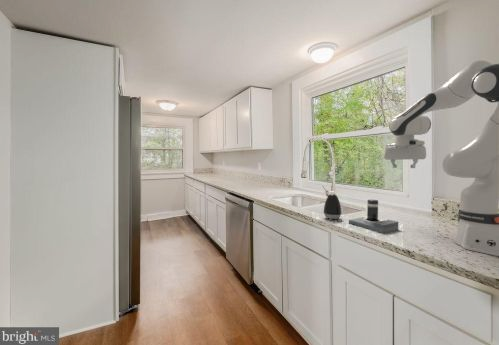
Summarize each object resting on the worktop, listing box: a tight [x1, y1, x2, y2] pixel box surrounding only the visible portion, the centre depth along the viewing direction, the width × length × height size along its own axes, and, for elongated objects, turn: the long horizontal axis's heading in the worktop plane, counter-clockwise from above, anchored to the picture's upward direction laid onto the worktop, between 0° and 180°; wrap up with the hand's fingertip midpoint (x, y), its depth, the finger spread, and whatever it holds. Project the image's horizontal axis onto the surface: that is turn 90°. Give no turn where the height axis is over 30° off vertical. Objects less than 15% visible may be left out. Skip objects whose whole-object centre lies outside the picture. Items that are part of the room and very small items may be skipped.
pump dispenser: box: [323, 193, 342, 220], centre depth 140 cm, size 10×10×15 cm
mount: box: [348, 216, 399, 234], centre depth 124 cm, size 20×12×4 cm, turn 28°
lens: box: [366, 199, 379, 222], centre depth 124 cm, size 5×5×12 cm
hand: (403, 167), depth 128 cm, fingers open, 8 cm apart
